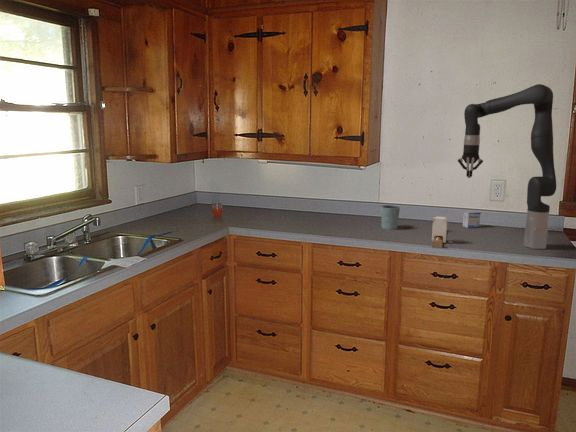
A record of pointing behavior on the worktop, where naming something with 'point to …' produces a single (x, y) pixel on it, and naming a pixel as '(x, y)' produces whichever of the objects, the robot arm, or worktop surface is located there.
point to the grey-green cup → (390, 216)
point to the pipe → (439, 242)
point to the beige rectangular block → (439, 227)
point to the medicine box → (471, 219)
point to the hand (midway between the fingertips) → (469, 177)
